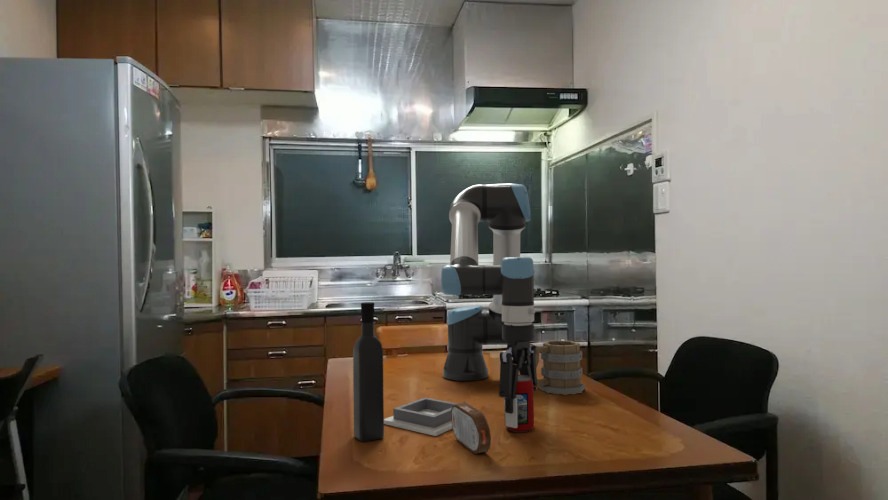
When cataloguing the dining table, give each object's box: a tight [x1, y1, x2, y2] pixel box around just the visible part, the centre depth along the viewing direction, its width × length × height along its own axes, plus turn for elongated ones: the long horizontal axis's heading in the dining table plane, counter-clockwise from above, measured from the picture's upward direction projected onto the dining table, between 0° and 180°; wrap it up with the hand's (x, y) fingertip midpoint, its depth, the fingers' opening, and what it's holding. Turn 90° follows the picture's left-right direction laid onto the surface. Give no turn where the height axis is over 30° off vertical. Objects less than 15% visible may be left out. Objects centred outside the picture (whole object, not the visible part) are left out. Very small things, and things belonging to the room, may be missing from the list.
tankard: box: [529, 340, 586, 396], centre depth 159 cm, size 20×13×15 cm, turn 108°
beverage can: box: [503, 374, 535, 433], centre depth 124 cm, size 7×7×12 cm
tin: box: [451, 401, 492, 455], centre depth 113 cm, size 15×3×8 cm, turn 22°
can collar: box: [384, 397, 458, 437], centre depth 131 cm, size 16×16×4 cm
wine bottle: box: [352, 301, 385, 443], centre depth 120 cm, size 6×6×30 cm
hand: (519, 422), depth 124 cm, fingers open, 7 cm apart
